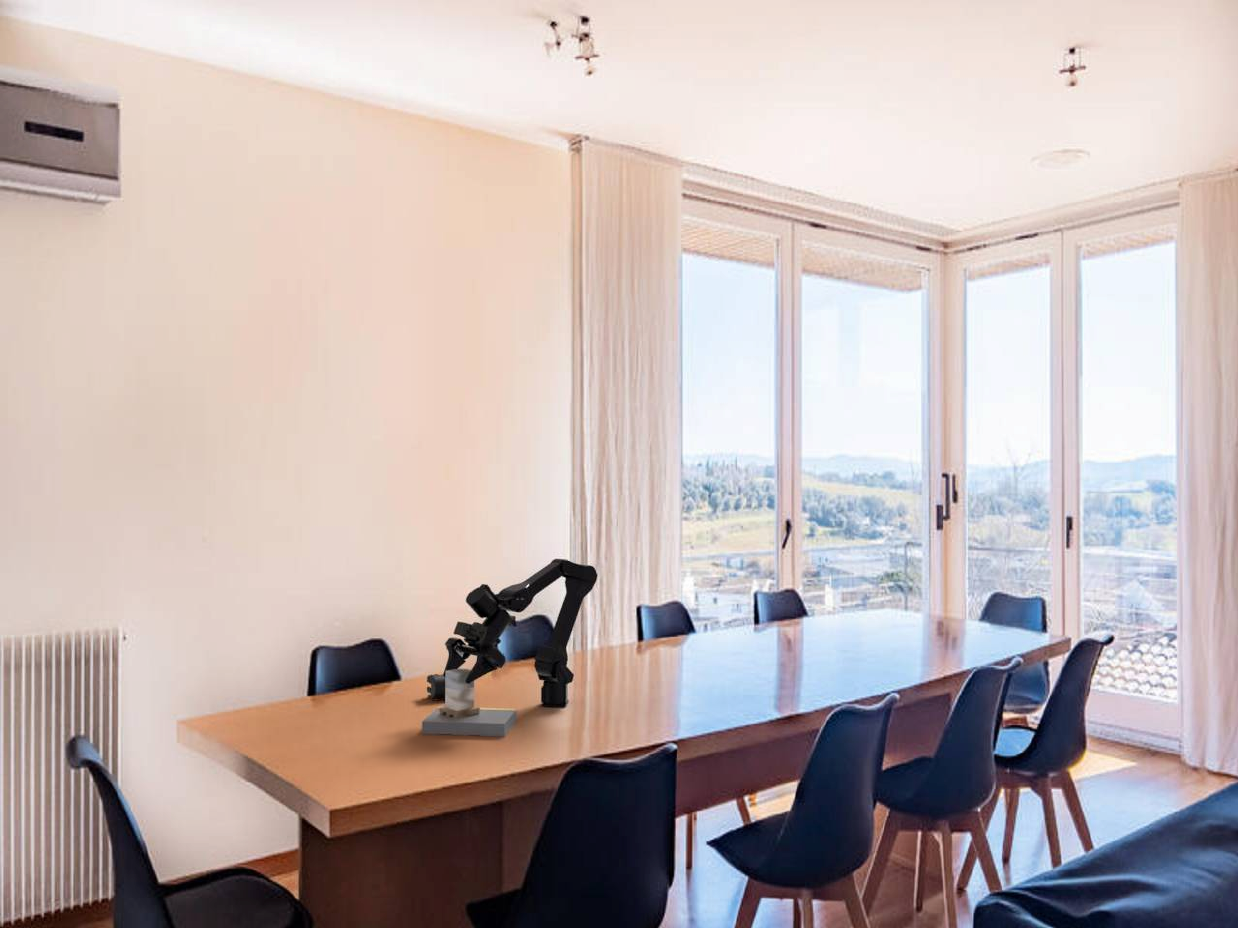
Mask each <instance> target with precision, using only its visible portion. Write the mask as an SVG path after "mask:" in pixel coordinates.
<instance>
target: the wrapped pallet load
mask: <svg viewBox="0 0 1238 928" xmlns="http://www.w3.org/2000/svg"><path fill="white" fill-rule="evenodd" d="M471 670H472V669H468V668H464V667H459V668H458V669H453V670H448V671H446V672H445V699H444V700H445V701H444V702H445V703H444V706H438V707H439V711H440V714H446V716H449V717H450V716H453V718H455V719H458V718H462V717H467V716H471V715H475V714H479V711H480V708H481V707H479V706H476V705H475V680H474V681H473V682H471V683H469V684H467V683H466V682H465V680H466V678H467V676H468V675H469V673H470V671H471Z"/></svg>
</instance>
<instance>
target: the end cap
mask: <svg viewBox="0 0 1238 928" xmlns="http://www.w3.org/2000/svg"><path fill="white" fill-rule="evenodd" d="M426 682H427V683H429V684H430V686H426V692H427V693H428V695H427V698H428V699H429V698H430V699H429V700H431V699H432V701H437V700H445V677H444V676H443V674H436V673H435V674H429V675H427V677H426Z"/></svg>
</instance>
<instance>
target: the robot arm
mask: <svg viewBox="0 0 1238 928" xmlns="http://www.w3.org/2000/svg"><path fill="white" fill-rule="evenodd" d="M561 577H562V578H565V579H564V586H565V591H566V592H565V595H564V598H563V601H562V604H561V607H560V610H559V613H558V615H557V618H556V622H555V624H554V627H553V630H552V633H551V635H550V638H549V641H548V642H547V643H546V644H545V645H539V646H538V647H537V652H536V654H535V657H534V658H533V661H534V665H533V667H534V668H535V672H536V673H537V678H538V680H539V681H542V683H543V685H542V686H541V688H540V703H541V706H542V707H556V708H557V707H559V708H560V707H563V708H566V707H567V705H568V704H569V699H568V695H569V694H568V692H569V690H568V688H569V687H568V685H569V684H571V683H573V680H574V678H575V677H574V676H575V674H574V673H573V671H572V670H570V668H569V667H568V666H567V665H568V659H569V656H568V650H567V647H568V644H569V640H570V637H571V635H572V632H573V629H574V626H575V623H576V621H577V617H578V615H579V612H580V610H581V606H582V604H583V600H584V598H585V597H587V595H589V594H590V592H592V591H593V588H594V587H595V584H596V582H597V580H598V573H597V570H596V568H595V567H594V566H593V565H588V564H580V563H579V564H578V563H575V562H572V561H570V560H568V559H567V558H565V559H564V558H555V559H552V560H551V562H550V563H549V564H547V565H546V566H544V567H542V568H541V569H540V570H538V571H537V572H535V573H534V574H533V575H531V576H530V577H528V578H527V579H526V580H524V581H522V582H519V583H516V584H512V585H509V586H507V587H505V588H503V589H501V590H500V591H499V592H498V593H494V592H493V591H492V589H491V587H490V585H488V584H486V583H485V584H484V583H481V585H480V586H479V587H476V588H475V589H473V590H472V591H470V592H469V593H468V594H467V595H466V598H465V602H466V604H467V605H468V607H469V608H470V609H472V612H474V614H476V615H477V616H478V617H479V618H481V619H484V618H485V619H484V620H483V621H482V623H480V622H476V621H474V622H473V623H472V624H471V623H468V622H463V621H457V623H456V625H455V628H454V630H453V635H458V636H460V637H462V638H463V639H461V638H458V637H449V638H448V639H447V640H446V641H445V642H444V645H445V647H446V651H447V652H448V657H447V661H446V664H445V668H444V671H443V674H442V675H443V676H444V677H445V672H446V671H448V670H453V669H459V668H461V667H462V666H463V665H464V664H465V663H466V662H467V661H466V660H467V659H469V657H470V656H471V655H472V656H476V661H475V664H474V665H473V666H472V668H471V669H470V670H471V671H470V673H469V675H468V676H467V678H466V680H465V682H466V683H467V684H469V683H471V682H473V681H474V682H475V681H476V680H477V679H480V678H482V677H484V676H485V675H487V674H488V673H492V672H493V671H496V670H498V669H502V668H503V667H504V665H506V661H507V659H506V655H505V654H504V653H502V651H501V650H500V649H499V648H498V647H497V646H496V644H497V645H500V643H501V642H502V640H501V639H500V638H501V636H502V634H504V632H505V631H506V629H507V628H508V627H512V628H516V627H517V626H518V625H517V621H516V616H515V615H511V614H510V613H509V612H511V613H512V612H513V613H522V612H524V611H525V610H526V609H527V608H528V607H529V606H530V605H531V604H532V602H533V599H534V598H535V596H536V595H538V594H539V593H540V592H541V591H543V590H544V589H546V588H548V587H549V586H551V584H553V583H554V582H556V581H557V580H558V579H560V578H561Z"/></svg>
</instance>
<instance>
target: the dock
mask: <svg viewBox="0 0 1238 928" xmlns="http://www.w3.org/2000/svg"><path fill="white" fill-rule="evenodd" d="M439 707H440V706H437V707H436V709H435V710H434V711H432V712H431V713H430V714H429V715H428V716H426V717H425V718H424V719H423V720H422V721H421V734H422V733H424V734H423V735H437V734H452V735H451V736H468V735H480V736H479V737H500V738H501V737H502V738H503V737H504V738H505V737H506V735H507V734H508V733H509V732H510V730H511V727H512V728H513V726H514V725H515V724H516V722H517V708H500V707H499V708H498V707H494V708H493V707H479V708H480V711H479V714H475V715H471V716H467V717H462V718H458V719H455V718H453V716H450V717H449V716H446V714H440V711H439Z"/></svg>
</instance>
